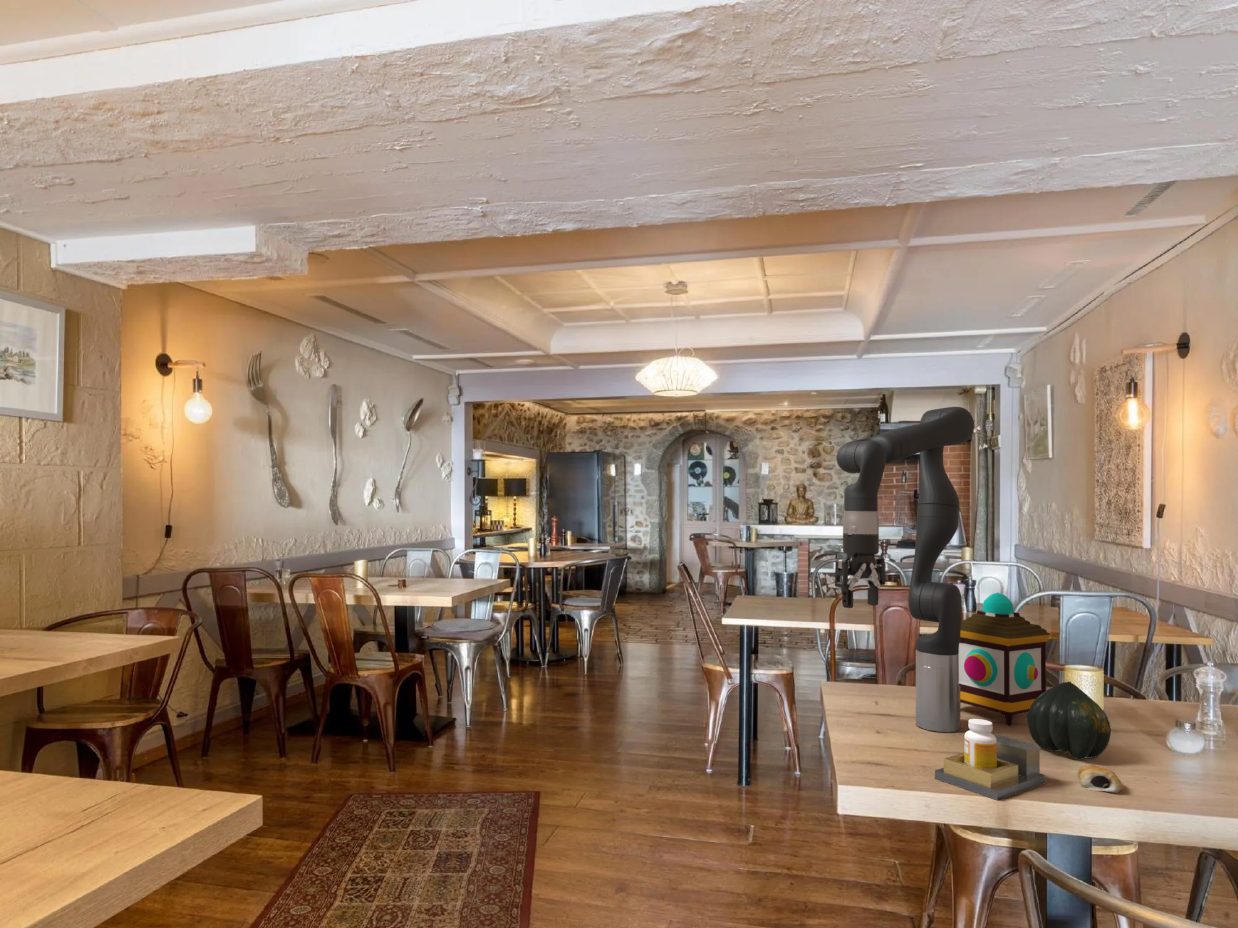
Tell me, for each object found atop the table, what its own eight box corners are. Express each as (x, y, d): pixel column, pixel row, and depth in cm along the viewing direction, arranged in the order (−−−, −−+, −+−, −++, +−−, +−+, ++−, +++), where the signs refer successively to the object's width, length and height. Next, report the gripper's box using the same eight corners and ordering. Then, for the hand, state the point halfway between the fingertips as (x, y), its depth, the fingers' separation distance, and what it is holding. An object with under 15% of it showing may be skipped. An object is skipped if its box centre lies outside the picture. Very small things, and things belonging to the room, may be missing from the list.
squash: (1059, 739, 148) (1096, 679, 152) (1001, 721, 162) (1037, 666, 166) (1104, 785, 150) (1140, 724, 154) (1043, 763, 164) (1077, 708, 168)
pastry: (1074, 774, 145) (1074, 754, 145) (1116, 780, 142) (1115, 760, 142) (1080, 790, 137) (1080, 768, 137) (1124, 797, 134) (1124, 775, 134)
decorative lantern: (1011, 730, 173) (1010, 598, 175) (937, 708, 190) (937, 589, 192) (1062, 719, 183) (1061, 595, 184) (987, 700, 200) (987, 587, 202)
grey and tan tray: (983, 763, 149) (983, 730, 149) (1045, 783, 139) (1045, 747, 139) (934, 778, 140) (934, 742, 141) (997, 800, 130) (997, 761, 131)
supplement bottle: (1003, 777, 137) (1002, 723, 138) (985, 782, 135) (985, 727, 135) (975, 768, 142) (975, 715, 142) (958, 772, 139) (958, 719, 140)
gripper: (866, 531, 172) (866, 602, 171) (825, 531, 164) (825, 606, 163) (895, 532, 166) (895, 606, 165) (854, 532, 158) (853, 610, 157)
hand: (860, 606), depth 164 cm, fingers open, 8 cm apart
